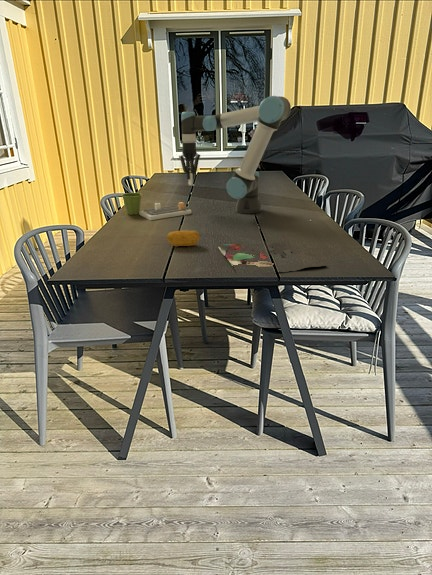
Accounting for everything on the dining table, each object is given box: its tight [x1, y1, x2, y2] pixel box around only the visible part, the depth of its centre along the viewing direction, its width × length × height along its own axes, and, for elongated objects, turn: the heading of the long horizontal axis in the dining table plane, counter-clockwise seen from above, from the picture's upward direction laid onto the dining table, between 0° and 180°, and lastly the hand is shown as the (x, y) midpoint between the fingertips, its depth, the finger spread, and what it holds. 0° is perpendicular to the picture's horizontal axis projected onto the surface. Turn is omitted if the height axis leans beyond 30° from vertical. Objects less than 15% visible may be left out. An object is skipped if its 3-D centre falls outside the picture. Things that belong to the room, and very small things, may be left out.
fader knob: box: [177, 201, 186, 210], centre depth 232 cm, size 3×2×4 cm
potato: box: [166, 229, 200, 247], centre depth 177 cm, size 7×14×7 cm, turn 88°
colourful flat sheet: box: [217, 243, 274, 267], centre depth 162 cm, size 35×35×2 cm
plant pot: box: [120, 192, 143, 216], centre depth 233 cm, size 12×12×11 cm
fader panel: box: [138, 202, 192, 221], centre depth 231 cm, size 16×26×6 cm, turn 121°
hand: (190, 184), depth 231 cm, fingers closed
